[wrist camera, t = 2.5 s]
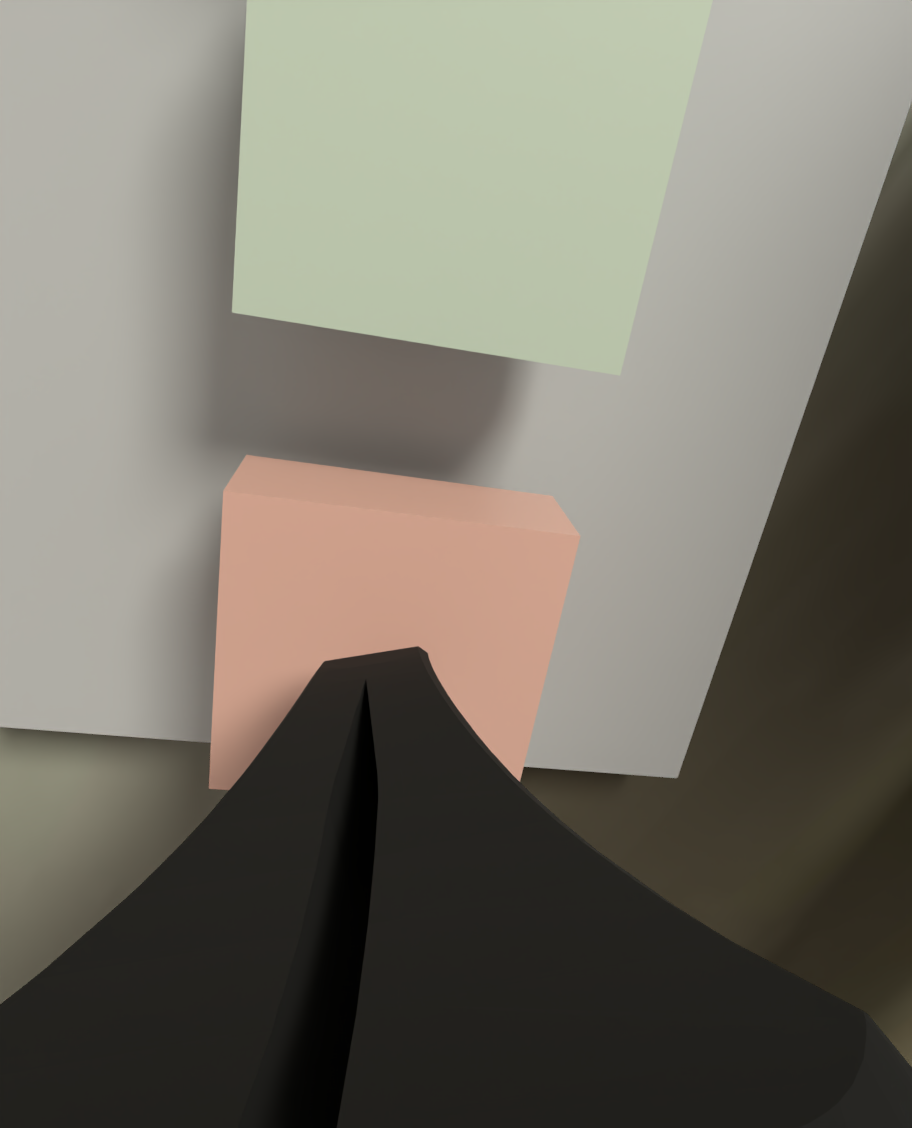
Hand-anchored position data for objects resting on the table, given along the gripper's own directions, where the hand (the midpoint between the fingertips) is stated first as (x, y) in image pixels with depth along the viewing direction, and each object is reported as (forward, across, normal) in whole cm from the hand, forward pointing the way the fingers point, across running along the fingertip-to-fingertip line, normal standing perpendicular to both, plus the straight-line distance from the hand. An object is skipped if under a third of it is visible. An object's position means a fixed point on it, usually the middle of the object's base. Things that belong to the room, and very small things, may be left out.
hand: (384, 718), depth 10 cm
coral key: (+5, 0, 0) cm, 5 cm away
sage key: (+5, -2, -7) cm, 8 cm away
